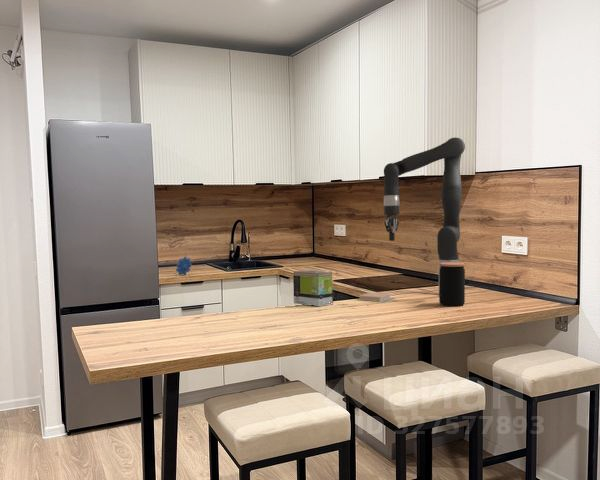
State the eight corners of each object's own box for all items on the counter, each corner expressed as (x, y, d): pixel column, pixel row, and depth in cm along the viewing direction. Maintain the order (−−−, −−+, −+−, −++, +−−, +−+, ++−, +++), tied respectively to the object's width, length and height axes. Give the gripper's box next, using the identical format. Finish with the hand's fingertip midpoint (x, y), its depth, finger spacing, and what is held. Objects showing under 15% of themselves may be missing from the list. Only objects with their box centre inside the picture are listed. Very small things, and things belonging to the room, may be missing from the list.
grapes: (187, 273, 380) (187, 256, 380) (193, 274, 376) (193, 256, 375) (172, 275, 372) (172, 257, 372) (178, 276, 367) (178, 257, 367)
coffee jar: (466, 303, 247) (466, 262, 246) (462, 307, 238) (462, 264, 237) (441, 302, 252) (441, 262, 251) (437, 305, 242) (437, 264, 241)
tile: (389, 294, 253) (379, 297, 245) (389, 298, 253) (379, 301, 245) (369, 292, 259) (359, 295, 250) (369, 297, 259) (359, 300, 251)
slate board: (396, 301, 255) (396, 298, 255) (383, 305, 243) (383, 302, 243) (369, 299, 263) (369, 295, 263) (354, 303, 251) (354, 299, 251)
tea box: (333, 304, 249) (333, 271, 248) (318, 307, 242) (317, 272, 241) (307, 301, 259) (307, 268, 258) (292, 303, 252) (292, 270, 251)
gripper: (393, 204, 266) (393, 241, 267) (404, 204, 277) (404, 240, 278) (378, 205, 270) (379, 241, 271) (389, 205, 281) (390, 240, 282)
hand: (392, 240), depth 274 cm, fingers closed
